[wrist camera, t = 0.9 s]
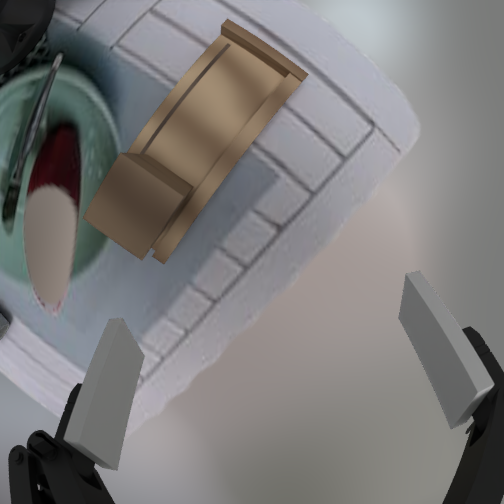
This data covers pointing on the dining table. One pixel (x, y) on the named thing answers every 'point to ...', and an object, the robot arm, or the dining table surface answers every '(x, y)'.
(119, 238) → the brown wooden block
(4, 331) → the ceramic mug
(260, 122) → the brown wooden tray
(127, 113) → the dining table surface
